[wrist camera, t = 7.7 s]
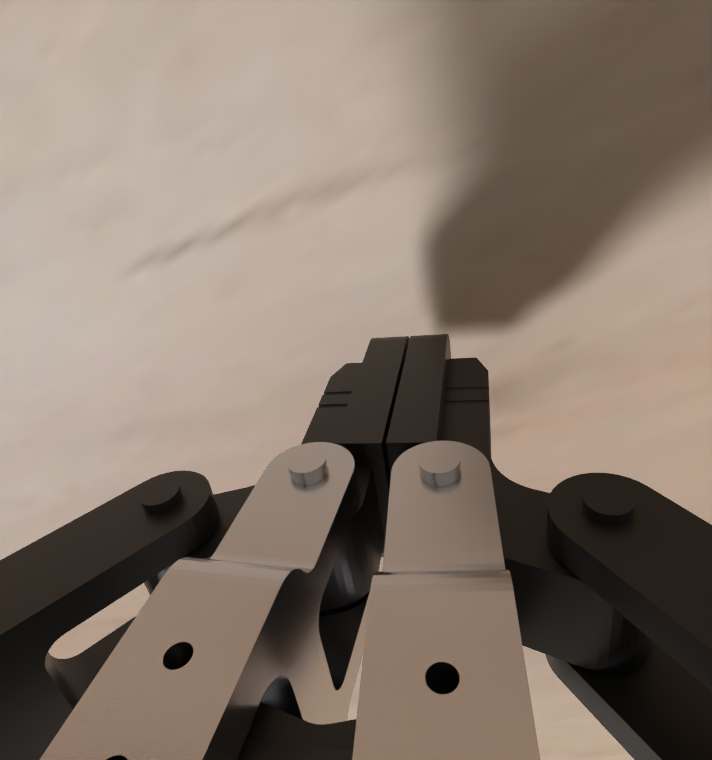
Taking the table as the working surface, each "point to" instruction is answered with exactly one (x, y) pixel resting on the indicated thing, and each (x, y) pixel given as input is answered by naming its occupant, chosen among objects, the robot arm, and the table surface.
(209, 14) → the table surface
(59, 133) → the table surface
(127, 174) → the table surface
